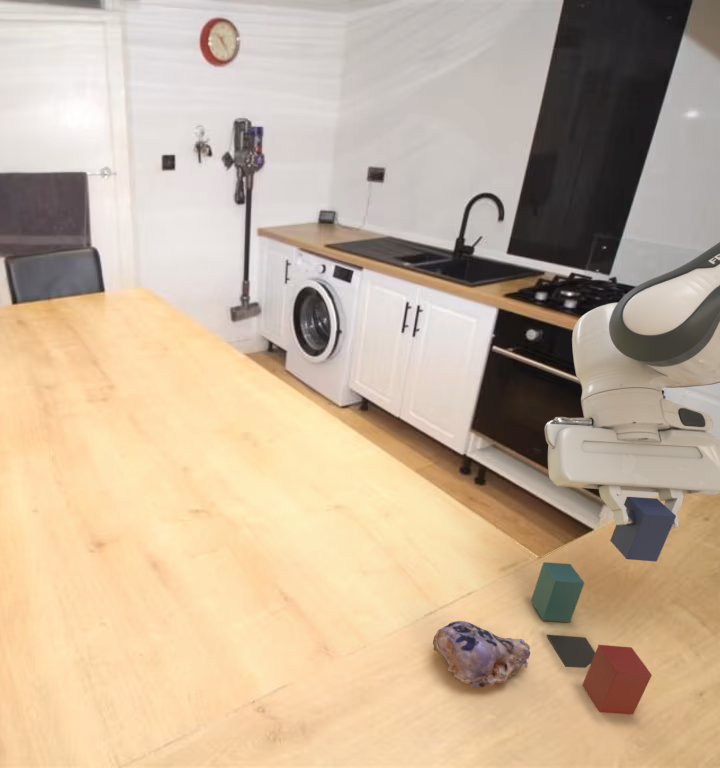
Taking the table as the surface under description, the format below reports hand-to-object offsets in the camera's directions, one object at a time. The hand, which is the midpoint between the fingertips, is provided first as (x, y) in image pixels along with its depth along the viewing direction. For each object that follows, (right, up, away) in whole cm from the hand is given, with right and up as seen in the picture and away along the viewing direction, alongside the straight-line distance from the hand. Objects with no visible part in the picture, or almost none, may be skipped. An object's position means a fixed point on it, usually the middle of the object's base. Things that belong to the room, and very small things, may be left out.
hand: (647, 526), depth 67 cm
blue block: (0, -4, +2) cm, 4 cm away
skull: (-21, -18, 0) cm, 27 cm away
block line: (-7, -17, +2) cm, 18 cm away
